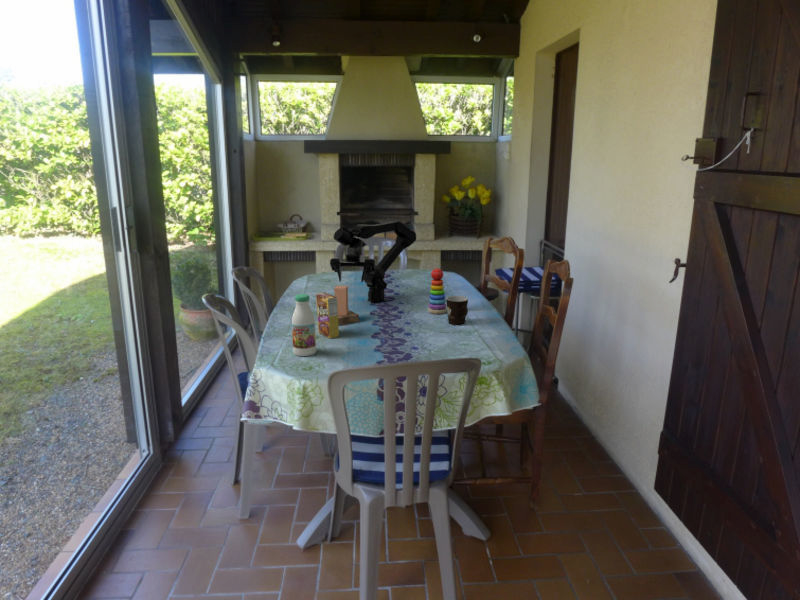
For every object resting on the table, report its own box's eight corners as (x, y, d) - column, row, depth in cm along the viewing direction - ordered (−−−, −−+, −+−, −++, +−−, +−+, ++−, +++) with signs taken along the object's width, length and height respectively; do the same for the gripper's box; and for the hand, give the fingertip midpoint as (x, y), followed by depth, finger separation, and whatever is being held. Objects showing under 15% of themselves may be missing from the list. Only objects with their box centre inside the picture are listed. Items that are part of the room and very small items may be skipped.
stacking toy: (448, 310, 237) (449, 267, 232) (444, 315, 230) (444, 271, 225) (431, 308, 240) (431, 266, 235) (425, 313, 232) (426, 269, 227)
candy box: (317, 333, 208) (315, 293, 204) (327, 330, 210) (325, 291, 206) (329, 339, 201) (327, 298, 197) (339, 336, 203) (338, 296, 200)
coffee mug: (445, 319, 224) (445, 295, 221) (466, 320, 223) (467, 295, 221) (446, 328, 212) (447, 303, 210) (469, 328, 212) (469, 303, 210)
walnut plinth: (347, 316, 229) (347, 309, 229) (359, 321, 221) (358, 314, 221) (325, 319, 224) (325, 312, 223) (336, 326, 216) (336, 318, 215)
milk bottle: (294, 349, 191) (291, 292, 185) (317, 348, 191) (314, 292, 186) (292, 357, 183) (288, 298, 178) (315, 356, 184) (313, 298, 179)
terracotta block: (337, 312, 224) (336, 285, 221) (348, 312, 224) (347, 285, 221) (335, 315, 220) (334, 288, 217) (346, 315, 220) (345, 288, 217)
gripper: (329, 239, 232) (325, 270, 224) (374, 239, 230) (371, 271, 222) (334, 254, 241) (330, 285, 234) (376, 255, 240) (373, 285, 232)
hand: (350, 281), depth 230 cm, fingers open, 9 cm apart
